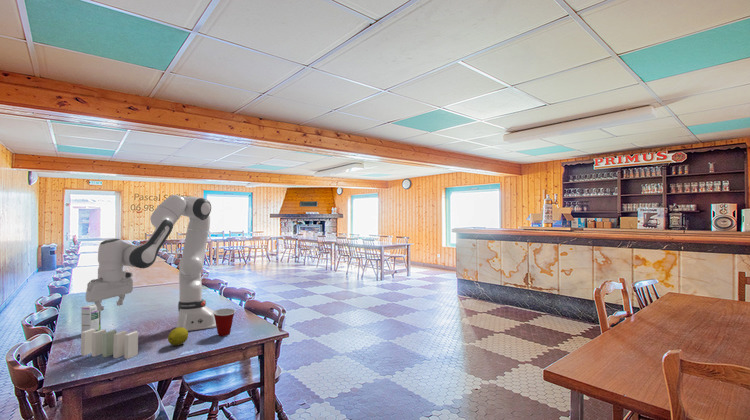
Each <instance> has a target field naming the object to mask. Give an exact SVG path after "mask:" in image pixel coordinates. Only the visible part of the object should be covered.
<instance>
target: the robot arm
mask: <svg viewBox="0 0 750 420" xmlns="http://www.w3.org/2000/svg"><path fill="white" fill-rule="evenodd" d="M211 212H212V204H211V202H210V201H209V200H208V199H206V198H204V197H197V196H185V195H178V194H172V195H170V196H168V197H167V198H166V199H165V200H163V201H162V202H161V203H160V204H159V205H158V206H157V207H156V208H155V209H154V211H152V214H151V215H150V223H151V224H152V226H153V227H154V231H153V232H152V234H151V235H150V237H149V238H148V240H147V241H145V242H144V244H141V245H135V244H134V245H133V244H130V243H128V242H125V241H123V240H121V239H120V238H112V239H111V238H110V239H106V240H103V241H101V242H100V243H99V246H98V250H97V251H98V252H97V262H98V268H97V278H95V279H94V278H93V279H91V280H89V282H88V283H87V286H86V291H85V292H86V293H85V301H86V302H87V303H93V304H95V305H96V306H97V311H101V312H102V311H104V308H105V306H104V305H102V303H103V302H102V301H104V300H108V299H111V298H116V297H118V301H116V306H118V307H120V306H123V305H124V304H123V303H124V302H123V301H124V300H125V298H126V295H128V294H131V293H132V291H133V289H134V284H133V283H134V281H133V278H132V277H133V272H130V271H124V270H123V268H124V266H126V267H130V268H131V267H133V268H134V267H135V268H138V269H147V268H149V267H151V266H153V265H154V263H155V261H157V256H158V254H159V251H160V250H161V248H162V247H163V245H164V243H165V242H166V240H168V237H169V236H170V234H171V232H173V229H174V226H175V224H176V222H178V220H179V219H180V218H181V216H184V217H187V218H189V222H188V225H187V229H186V234H185V238H184V244H183V250H182V255H181V258H180V261H179V263H178V266H179V267H178V272H179V273H178V276H179V277H178V278H179V300H178V304H177V309H178V310H177V311H178V316H177V323H176V325H175V328H178V327H183V328H185V329H186V330H187V331H188V332H189V331H197V330H205V329H211V328H216V322H215V316H214V314H213V311H214V310H213V309H212V308H210V307H208V306H207V305H206V304H207V301H206V299H203V297H202V296H203V288H202V287H203V286H202V283H203V282H202V271H203V268H204V263H205V257H206V249H207V243H208V239H209V234H210V233H209V231H210V229H211V228H210V227H211V216H210V214H211Z"/></svg>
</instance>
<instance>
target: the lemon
mask: <svg viewBox="0 0 750 420" xmlns="http://www.w3.org/2000/svg"><path fill="white" fill-rule="evenodd" d="M188 339H189V331H187V330H186V329H185V328H183V327H178V328H176V327H175V328H173V329H172V330H170V332H169V334H168V335H167V341H168V343H169V344H170V345H173V346H180V345H182V344H184V343H185V342H186V341H187V340H188Z"/></svg>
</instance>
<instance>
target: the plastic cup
mask: <svg viewBox="0 0 750 420" xmlns="http://www.w3.org/2000/svg"><path fill="white" fill-rule="evenodd" d="M235 313H236V309H234V308H226V307H225V308H218V309H216V310H213V314H214V316H215V322H216V327H215V328H216V330H217V331H216V333H217V335H218V336H220V337H225V336H229V335H230V334H231V330H232V325H233V320H234V315H235Z"/></svg>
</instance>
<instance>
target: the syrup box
mask: <svg viewBox="0 0 750 420" xmlns="http://www.w3.org/2000/svg"><path fill="white" fill-rule="evenodd" d="M80 310H81V313H80V315H81V319H80V320H81V323H80V324H81V330H80V331H81V332H84V331H87V330H90V329H95V332H96V331H99V330H102V327H101V326H102V325H101V318H102V317H101V314H102V313H101V312H102V311H97V306H96V305H95V303H91V304H89V305H84V306H81V309H80Z"/></svg>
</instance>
